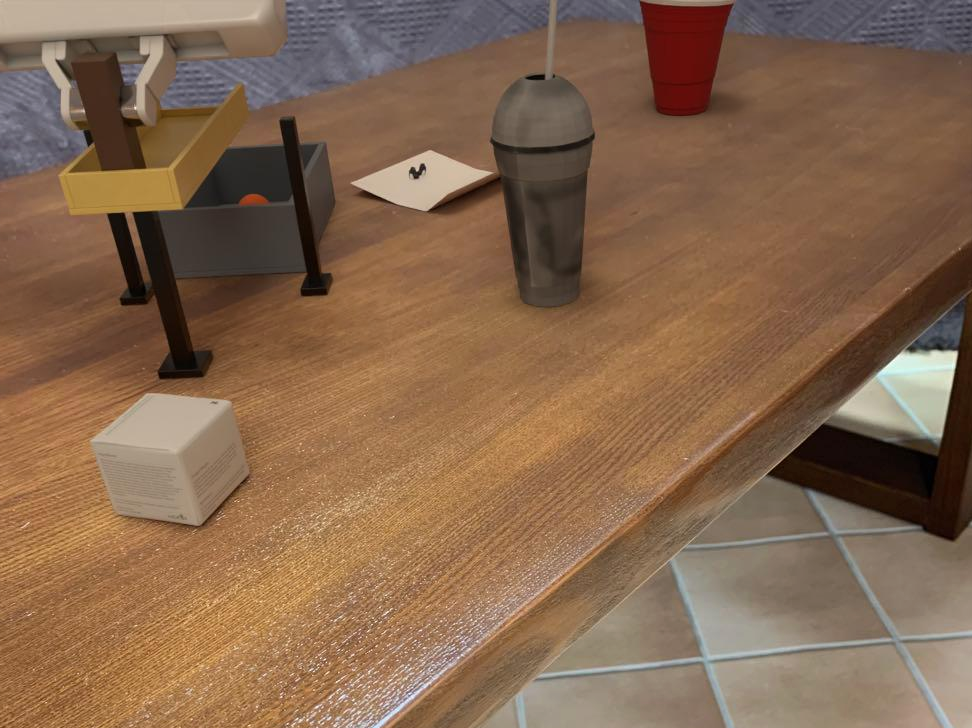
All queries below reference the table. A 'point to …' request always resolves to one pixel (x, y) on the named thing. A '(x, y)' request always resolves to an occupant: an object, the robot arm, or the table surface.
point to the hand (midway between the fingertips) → (109, 123)
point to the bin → (248, 214)
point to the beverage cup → (544, 179)
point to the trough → (143, 146)
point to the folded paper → (425, 181)
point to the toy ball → (253, 200)
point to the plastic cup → (684, 50)
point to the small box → (171, 458)
